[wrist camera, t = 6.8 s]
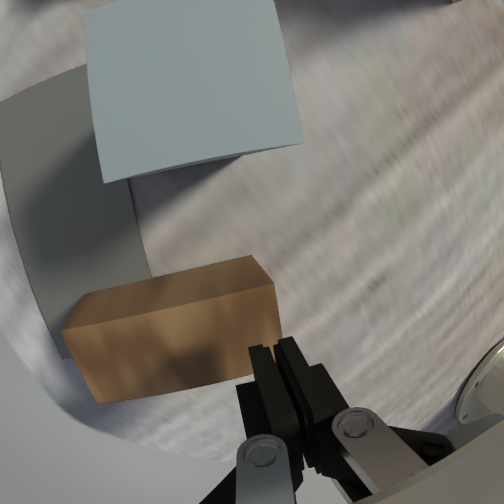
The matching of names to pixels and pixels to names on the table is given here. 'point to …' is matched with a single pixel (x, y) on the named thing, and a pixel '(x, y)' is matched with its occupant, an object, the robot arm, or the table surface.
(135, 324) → the walnut block
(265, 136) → the slate block
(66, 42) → the table surface
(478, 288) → the table surface
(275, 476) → the robot arm
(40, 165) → the felt mat
